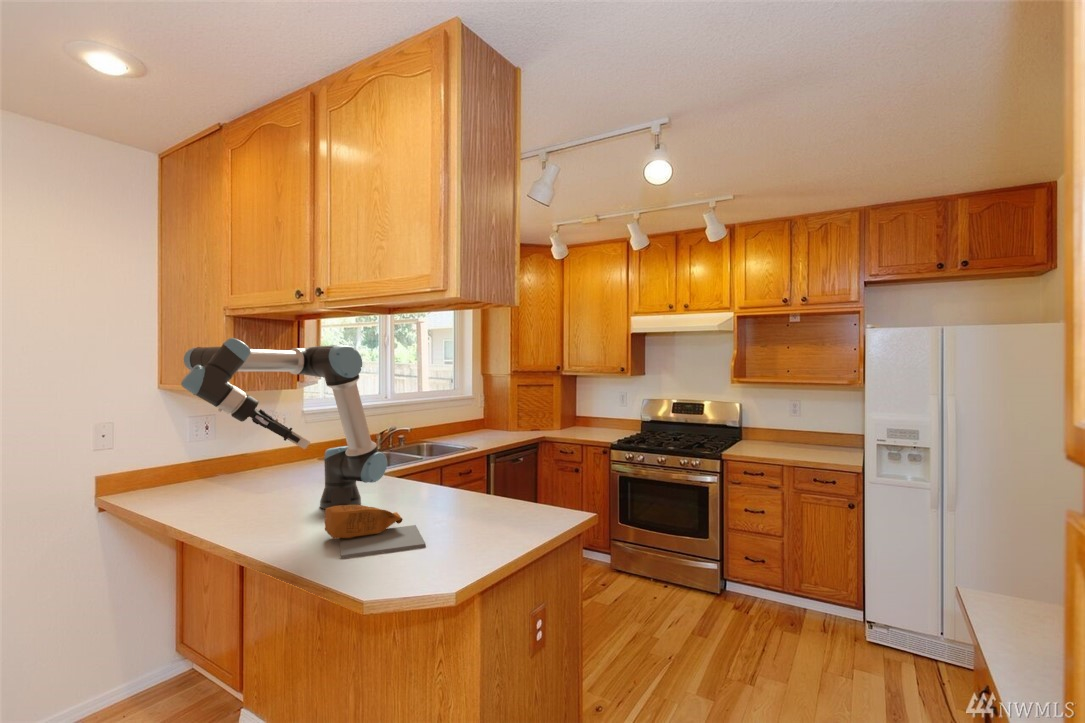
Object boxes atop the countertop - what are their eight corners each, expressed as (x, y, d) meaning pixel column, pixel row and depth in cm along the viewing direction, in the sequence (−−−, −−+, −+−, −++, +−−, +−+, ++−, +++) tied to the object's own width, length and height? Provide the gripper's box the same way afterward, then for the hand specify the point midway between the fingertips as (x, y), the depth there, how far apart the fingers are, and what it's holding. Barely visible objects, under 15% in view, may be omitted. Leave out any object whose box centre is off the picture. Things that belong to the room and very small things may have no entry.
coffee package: (323, 537, 165) (392, 529, 177) (331, 542, 155) (403, 533, 167) (324, 505, 167) (392, 499, 179) (332, 508, 157) (403, 501, 168)
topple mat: (339, 537, 166) (339, 534, 166) (415, 527, 175) (415, 525, 175) (340, 558, 147) (340, 555, 147) (425, 546, 156) (425, 543, 156)
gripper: (228, 411, 157) (295, 450, 168) (231, 419, 146) (303, 460, 158) (245, 391, 159) (311, 431, 170) (249, 397, 148) (319, 440, 160)
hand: (307, 445), depth 164 cm, fingers closed
